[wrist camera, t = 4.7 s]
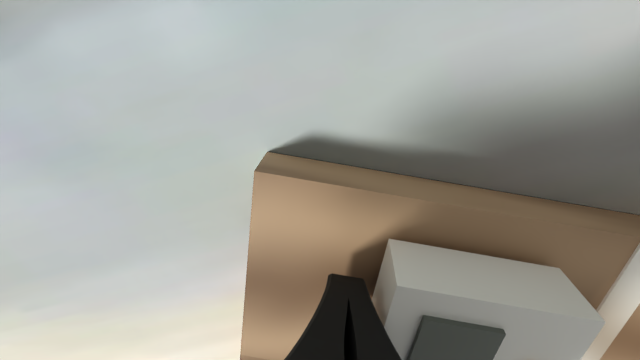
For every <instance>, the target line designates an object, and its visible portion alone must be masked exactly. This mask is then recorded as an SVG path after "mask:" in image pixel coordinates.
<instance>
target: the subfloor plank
mask: <svg viewBox="0 0 640 360" xmlns="http://www.w3.org/2000/svg"><path fill="white" fill-rule="evenodd" d="M389 239H394V240H400V241H406V242H412V243H417V244H423V245H429V246H435V247H440V248H446V249H452V250H458V251H463V252H469V253H475V254H481V255H486V256H492V257H498V258H504V259H510V260H515V261H521V262H527V263H533V264H538V265H544V266H550V267H556V268H560V269H561V271H562V272H563V273H564V274H565V275H566V276H567V277H568V279H569V280H570V281H571V282H572V283H573V284H574V286H575V287H576V288H577V289H578V290H579V291H580V293H581V294H582V295H583V296H584V297H585V298H586V300H587V301H588V302H589V303H590V304H591V305H592V307H593V308H594V309H595V310H596V311H597V312H598V314H599V315H600V316H601V317H602V318H603V319H604V321H605V322H606V323H605V324H604V326H603V327H602V329H601V330H600V332H599V333H598V335H597V336H596V338H595V339H594V341H593V342H592V344H591V345H590V346H589V348H588V349H587V351H586V352H585V354H584V355H583V357H582V358H581V360H640V215H634V214H628V213H623V212H617V211H611V210H605V209H599V208H593V207H588V206H582V205H576V204H570V203H564V202H558V201H552V200H547V199H541V198H535V197H529V196H523V195H517V194H511V193H506V192H500V191H494V190H488V189H482V188H476V187H470V186H465V185H459V184H453V183H447V182H441V181H435V180H429V179H424V178H418V177H412V176H406V175H400V174H394V173H389V172H383V171H377V170H371V169H365V168H359V167H353V166H348V165H342V164H336V163H330V162H324V161H318V160H312V159H307V158H301V157H295V156H289V155H283V154H277V153H271V152H267V153H266V154H265V156H264V157H263V159H262V160H261V162H260V163H259V165H258V166H257V168H256V169H255V171H254V183H253V196H252V209H251V222H250V235H249V248H248V262H247V275H246V288H245V301H244V314H243V327H242V340H241V354H240V360H284V359H285V358H286V356H287V355H288V354H289V353H290V351H291V350H292V348H293V347H294V346H295V344H296V343H297V341H298V340H299V338H300V337H301V335H302V334H303V332H304V330H305V329H306V327H307V325H308V324H309V322H310V320H311V318H312V317H313V315H314V313H315V311H316V309H317V307H318V305H319V303H320V301H321V298H322V296H323V293H324V291H325V288H326V284H327V279H328V275H330V274H331V273H333V274H339V275H345V276H351V277H356V278H362V279H363V280H364V281H365V283H366V286H367V289H368V292H369V295H370V297H371V300H372V297H373V293H374V290H375V286H376V283H377V279H378V275H379V272H380V268H381V265H382V261H383V258H384V254H385V250H386V247H387V243H388V240H389Z"/></svg>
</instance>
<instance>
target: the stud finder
mask: <svg viewBox="0 0 640 360" xmlns="http://www.w3.org/2000/svg"><path fill="white" fill-rule="evenodd" d="M372 302H373V305H374V307H375V309H376V312H377V314H378V316H379V318H380V320H381V322H382V324H383V326H384V328H385V330H386V332H387V334H388V336H389V338H390V340H391V342H392V344H393V345H394V347H395V349H396V351H397V352H398V354H399V356H400V357H401V359H402V360H581V358H582V357H583V355H584V354H585V352H586V351H587V349H588V348H589V346H590V345H591V344H592V342H593V341H594V339H595V338H596V336H597V335H598V333H599V332H600V330H601V329H602V327H603V326H604V324H605V323H606V322H605V321H604V319H603V318H602V317H601V316H600V315H599V314H598V312H597V311H596V310H595V309H594V308H593V307H592V305H591V304H590V303H589V302H588V301H587V300H586V298H585V297H584V296H583V295H582V294H581V293H580V291H579V290H578V289H577V288H576V287H575V286H574V284H573V283H572V282H571V281H570V280H569V279H568V277H567V276H566V275H565V274H564V273H563V272H562V271H561V269H560V268H556V267H550V266H544V265H538V264H533V263H527V262H521V261H515V260H510V259H504V258H498V257H492V256H486V255H481V254H475V253H469V252H463V251H458V250H452V249H446V248H440V247H435V246H429V245H423V244H417V243H412V242H406V241H400V240H394V239H389V240H388V243H387V247H386V250H385V254H384V258H383V261H382V265H381V268H380V272H379V275H378V279H377V283H376V286H375V290H374V293H373V297H372Z"/></svg>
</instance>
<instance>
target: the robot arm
mask: <svg viewBox="0 0 640 360" xmlns="http://www.w3.org/2000/svg"><path fill="white" fill-rule="evenodd" d="M284 360H402V359H401V357H400V356H399V354H398V352H397V351H396V349H395V347H394V345H393V344H392V342H391V340H390V338H389V336H388V334H387V332H386V330H385V328H384V326H383V324H382V322H381V320H380V318H379V316H378V314H377V312H376V309H375V307H374V305H373V302H372V300H371V297H370V295H369V292H368V289H367V286H366V283H365V281H364V280H363V279H362V278H356V277H351V276H345V275H339V274H333V273H331V274H330V275H328V279H327V284H326V288H325V291H324V293H323V296H322V298H321V301H320V303H319V305H318V307H317V309H316V311H315V313H314V315H313V317H312V318H311V320H310V322H309V324H308V325H307V327H306V329H305V330H304V332H303V334H302V335H301V337H300V338H299V340H298V341H297V343H296V344H295V346H294V347H293V348H292V350H291V351H290V353H289V354H288V355H287V356H286V358H285V359H284Z"/></svg>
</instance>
